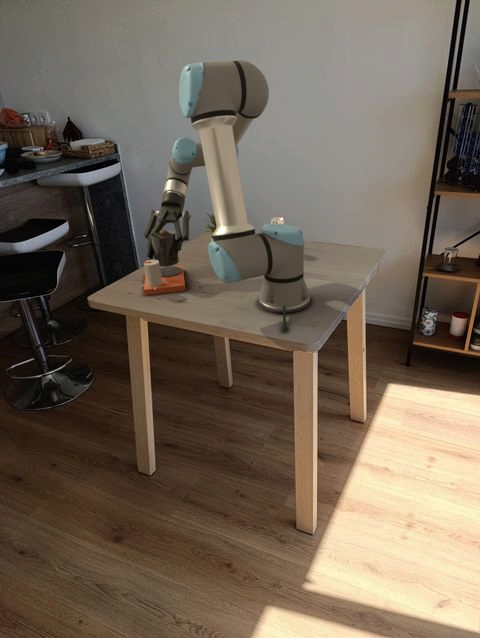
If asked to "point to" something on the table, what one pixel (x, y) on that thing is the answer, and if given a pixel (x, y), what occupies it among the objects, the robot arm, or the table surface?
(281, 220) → the wineglass
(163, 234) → the enamel pot
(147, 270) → the hob knob
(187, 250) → the table surface
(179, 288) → the hot plate
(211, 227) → the house plant
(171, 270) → the burner
